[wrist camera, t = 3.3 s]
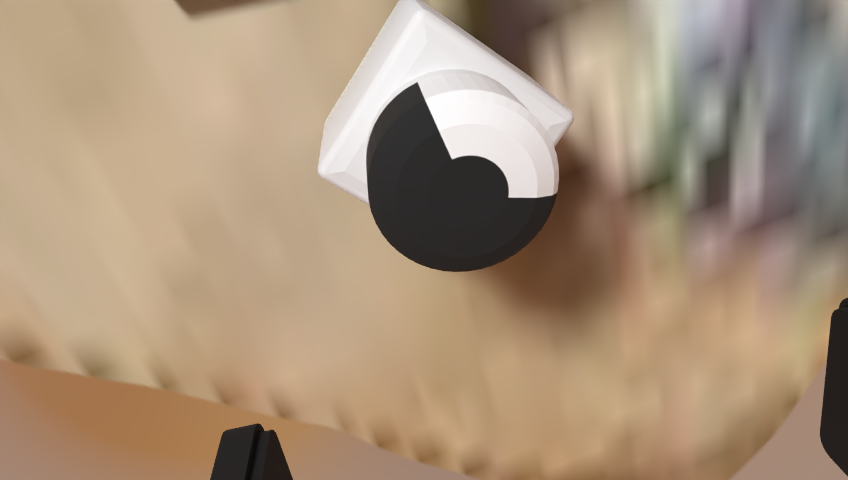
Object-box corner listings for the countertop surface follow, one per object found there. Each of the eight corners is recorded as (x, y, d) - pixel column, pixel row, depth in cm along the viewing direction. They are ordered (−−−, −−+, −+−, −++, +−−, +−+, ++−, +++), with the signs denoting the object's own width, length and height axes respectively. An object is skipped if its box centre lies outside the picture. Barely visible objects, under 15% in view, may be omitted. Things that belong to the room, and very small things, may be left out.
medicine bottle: (446, 199, 33) (492, 331, 22) (321, 125, 31) (304, 231, 20) (533, 78, 31) (630, 158, 20) (405, -12, 28) (437, 23, 18)
